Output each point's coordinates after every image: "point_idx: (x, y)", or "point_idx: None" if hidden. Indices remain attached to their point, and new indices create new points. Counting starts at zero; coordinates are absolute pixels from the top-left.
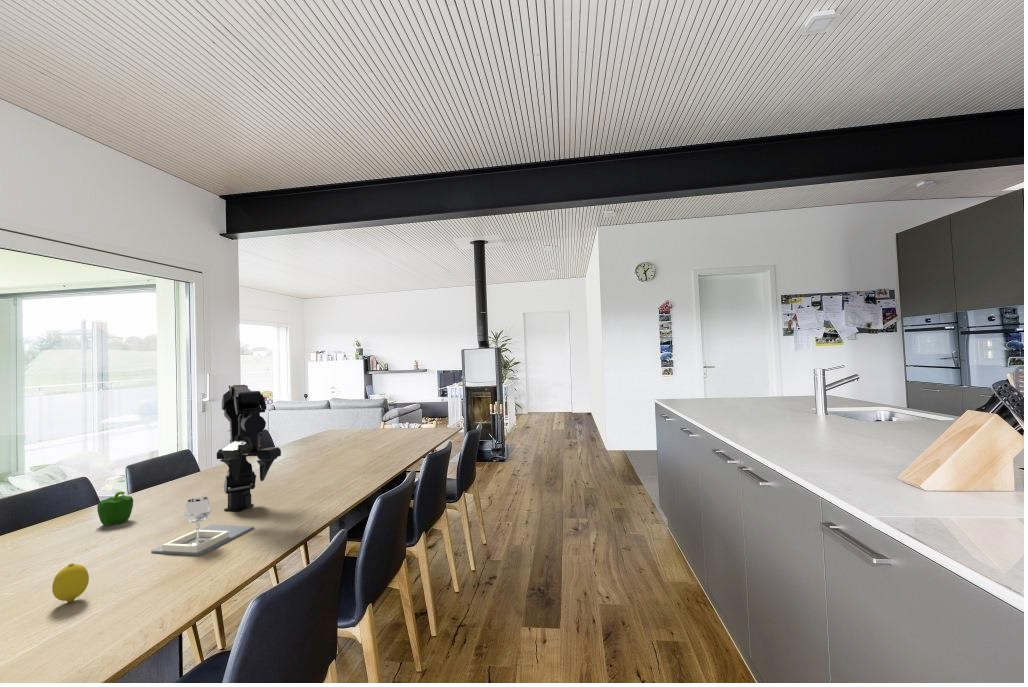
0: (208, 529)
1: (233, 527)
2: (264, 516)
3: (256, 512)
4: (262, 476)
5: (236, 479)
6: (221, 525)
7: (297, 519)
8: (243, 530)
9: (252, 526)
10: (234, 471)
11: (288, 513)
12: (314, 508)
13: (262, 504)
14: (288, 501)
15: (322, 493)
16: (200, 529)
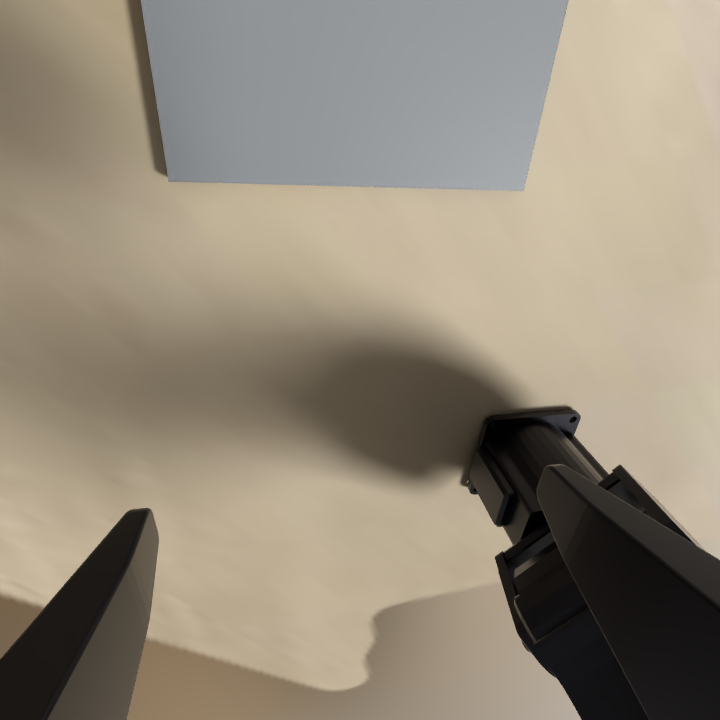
0: (483, 89)
1: (317, 143)
2: (291, 381)
3: (388, 422)
4: (79, 577)
5: (547, 483)
6: (438, 179)
7: (5, 370)
8: (175, 79)
9: (179, 177)
10: (645, 569)
11: (178, 440)
12: (88, 520)
13: (435, 505)
14: (331, 555)
15: (244, 646)
16: (541, 84)
